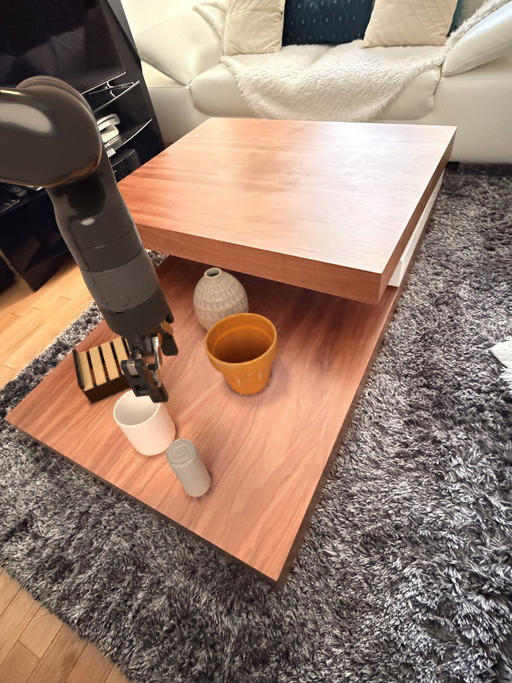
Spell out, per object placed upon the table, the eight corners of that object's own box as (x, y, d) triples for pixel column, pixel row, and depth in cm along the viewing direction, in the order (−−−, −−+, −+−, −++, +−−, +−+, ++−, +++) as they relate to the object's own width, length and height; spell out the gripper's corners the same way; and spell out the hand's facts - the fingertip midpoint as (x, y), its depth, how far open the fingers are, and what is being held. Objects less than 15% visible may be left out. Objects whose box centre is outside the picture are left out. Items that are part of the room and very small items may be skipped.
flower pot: (294, 388, 81) (289, 345, 71) (231, 416, 78) (218, 375, 69) (265, 346, 90) (258, 303, 81) (208, 370, 87) (194, 328, 78)
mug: (143, 406, 83) (124, 374, 75) (185, 429, 77) (170, 397, 69) (113, 437, 78) (90, 407, 70) (156, 464, 72) (136, 434, 65)
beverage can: (181, 479, 70) (161, 445, 61) (206, 467, 71) (190, 432, 62) (189, 503, 66) (169, 471, 58) (215, 490, 68) (199, 456, 59)
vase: (221, 354, 90) (205, 299, 78) (191, 328, 98) (173, 274, 86) (262, 326, 95) (253, 270, 83) (231, 303, 103) (219, 249, 91)
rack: (91, 404, 85) (78, 385, 80) (84, 368, 93) (71, 349, 88) (152, 377, 88) (142, 358, 83) (140, 345, 96) (131, 326, 91)
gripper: (111, 255, 50) (151, 343, 61) (73, 332, 40) (130, 420, 51) (168, 249, 49) (198, 339, 60) (143, 326, 39) (185, 416, 50)
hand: (167, 376), depth 56 cm, fingers open, 8 cm apart
